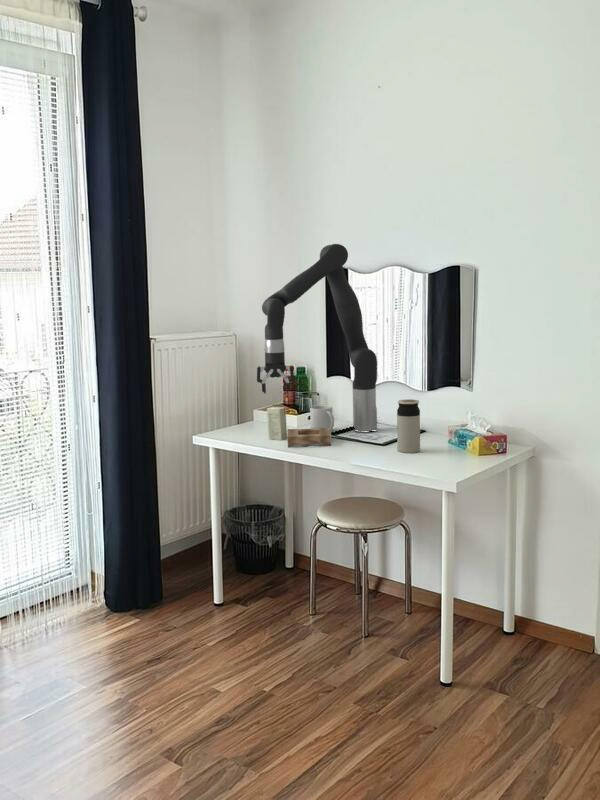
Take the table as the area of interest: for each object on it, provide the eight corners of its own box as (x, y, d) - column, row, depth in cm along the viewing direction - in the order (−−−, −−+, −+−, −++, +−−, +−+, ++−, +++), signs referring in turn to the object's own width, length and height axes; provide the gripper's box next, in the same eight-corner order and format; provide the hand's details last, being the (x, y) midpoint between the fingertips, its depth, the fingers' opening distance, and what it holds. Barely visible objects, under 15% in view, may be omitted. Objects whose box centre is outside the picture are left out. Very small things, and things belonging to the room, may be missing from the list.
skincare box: (287, 438, 312) (286, 407, 310) (281, 440, 308) (280, 409, 306) (273, 436, 315) (272, 406, 313) (267, 439, 312) (266, 408, 310)
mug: (311, 429, 328) (310, 405, 326) (334, 429, 327) (333, 404, 325) (310, 435, 317) (309, 410, 315) (334, 434, 316) (333, 409, 315)
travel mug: (423, 449, 286) (423, 400, 283) (414, 454, 279) (413, 403, 276) (403, 447, 290) (403, 398, 287) (393, 452, 284) (393, 402, 281)
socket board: (329, 438, 310) (328, 427, 309) (331, 446, 296) (330, 435, 296) (287, 439, 310) (287, 429, 309) (287, 447, 296) (287, 436, 296)
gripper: (293, 349, 310) (294, 390, 313) (256, 350, 310) (257, 392, 312) (293, 351, 303) (294, 393, 305) (255, 352, 302) (257, 395, 305)
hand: (275, 392), depth 309 cm, fingers open, 8 cm apart
